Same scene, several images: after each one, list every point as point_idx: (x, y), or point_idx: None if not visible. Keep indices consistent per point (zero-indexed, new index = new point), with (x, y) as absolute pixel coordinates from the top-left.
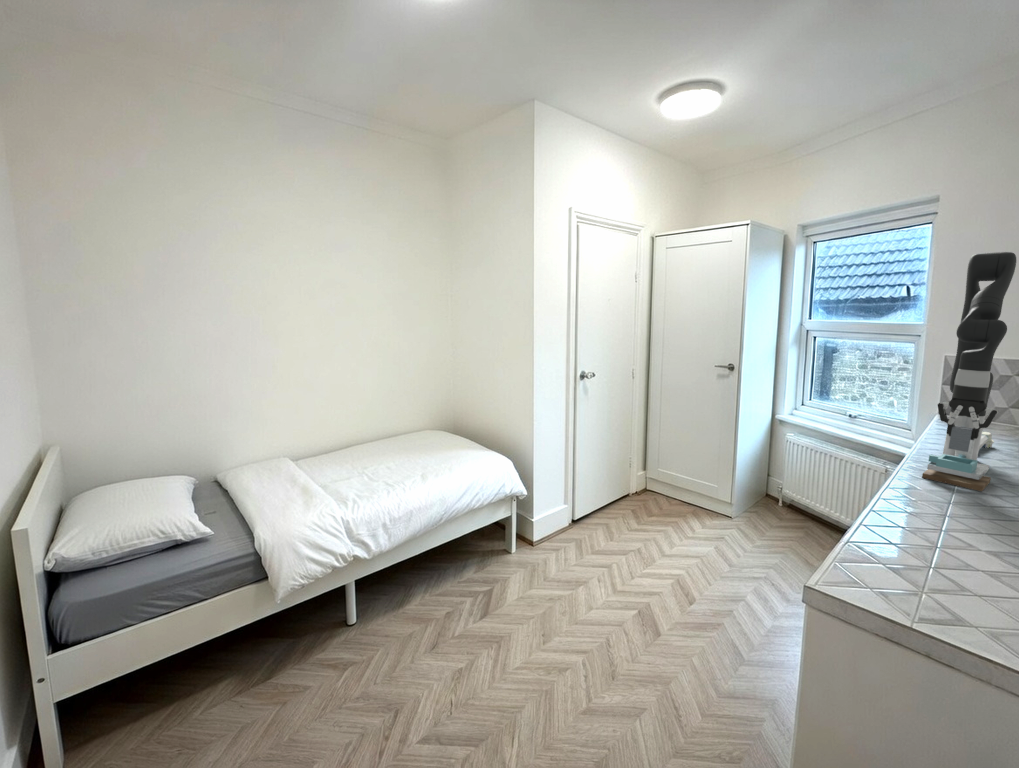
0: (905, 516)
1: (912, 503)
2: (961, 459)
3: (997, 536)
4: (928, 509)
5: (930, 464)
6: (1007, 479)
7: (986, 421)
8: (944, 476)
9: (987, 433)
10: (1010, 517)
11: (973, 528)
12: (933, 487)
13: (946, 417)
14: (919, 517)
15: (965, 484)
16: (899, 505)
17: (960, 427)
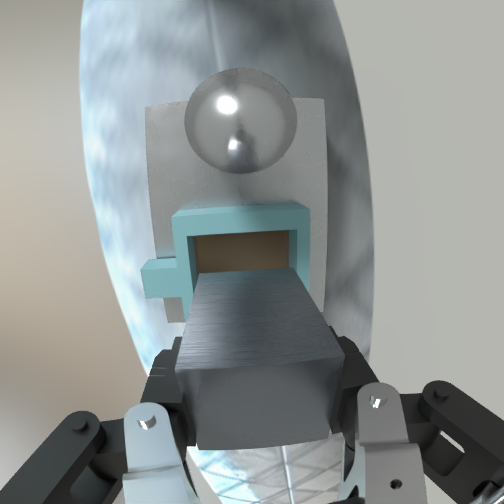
0: (249, 488)
1: (236, 459)
2: (250, 230)
3: (339, 465)
4: (260, 462)
5: (173, 316)
6: (340, 44)
7: (435, 471)
8: (217, 270)
9: None
10: None
11: (317, 468)
12: None
13: (92, 453)
14: (261, 483)
15: None
16: (228, 473)
17: (242, 419)
